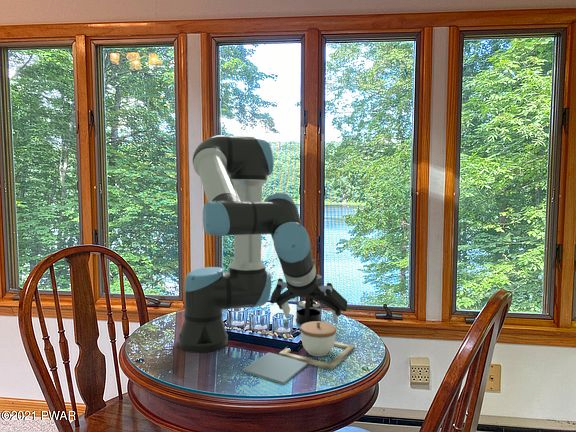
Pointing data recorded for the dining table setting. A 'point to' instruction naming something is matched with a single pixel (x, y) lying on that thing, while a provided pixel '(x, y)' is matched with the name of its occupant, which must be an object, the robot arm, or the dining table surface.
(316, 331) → the lidded jar
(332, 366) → the birch frame
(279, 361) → the rubber mat
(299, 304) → the french press
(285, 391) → the dining table surface
